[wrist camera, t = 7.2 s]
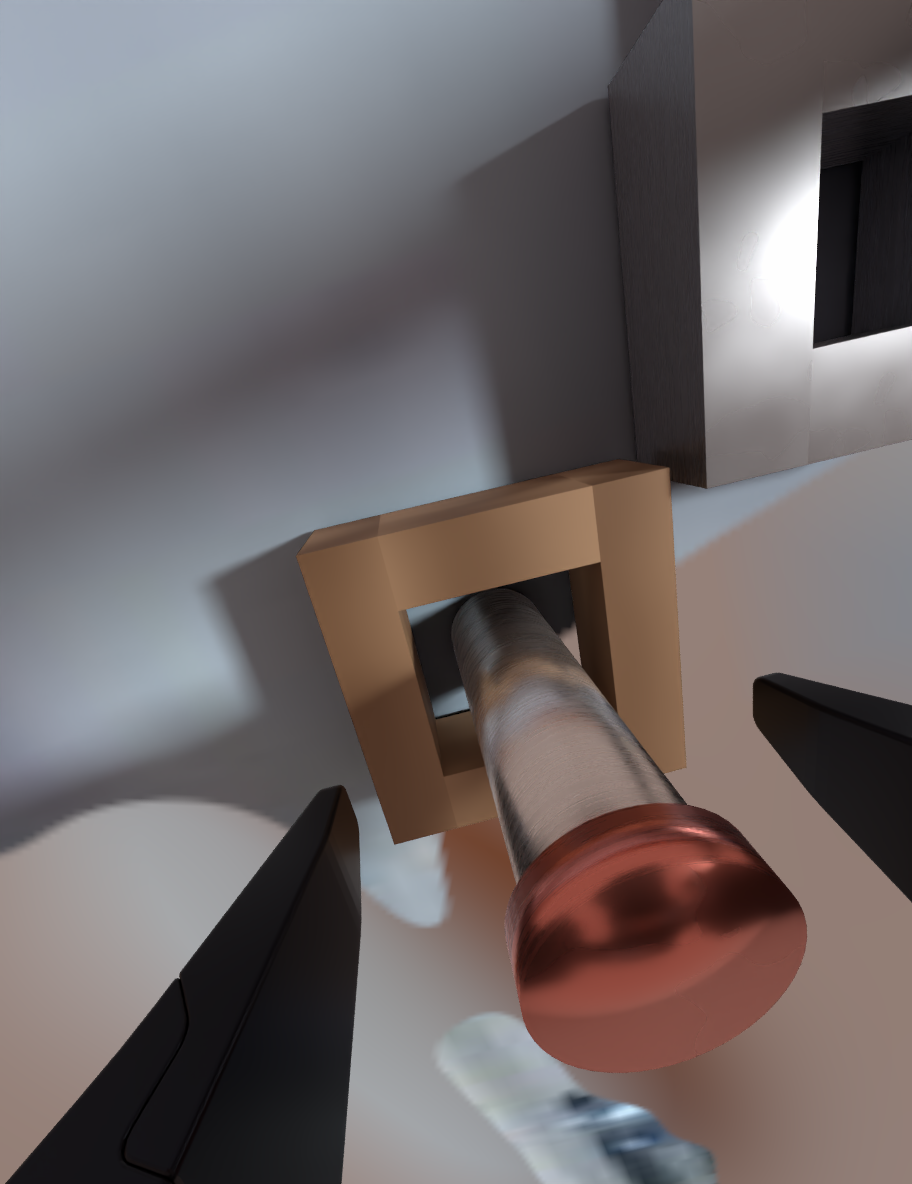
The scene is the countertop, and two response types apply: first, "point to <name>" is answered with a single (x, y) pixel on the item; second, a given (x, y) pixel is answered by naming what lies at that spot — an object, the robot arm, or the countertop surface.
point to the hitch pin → (613, 866)
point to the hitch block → (762, 231)
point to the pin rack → (483, 561)
